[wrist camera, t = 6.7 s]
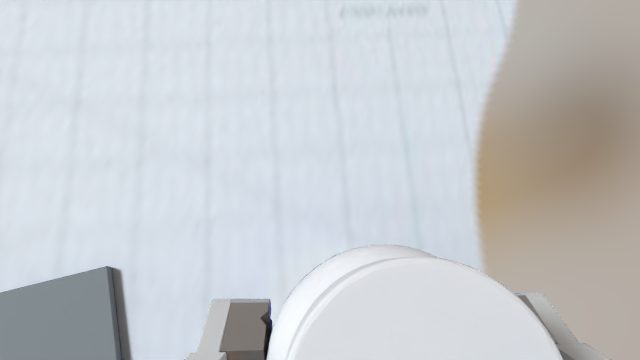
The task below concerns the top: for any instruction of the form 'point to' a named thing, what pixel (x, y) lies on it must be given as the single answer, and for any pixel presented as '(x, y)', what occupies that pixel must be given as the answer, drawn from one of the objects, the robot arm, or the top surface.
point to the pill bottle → (405, 312)
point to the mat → (61, 319)
